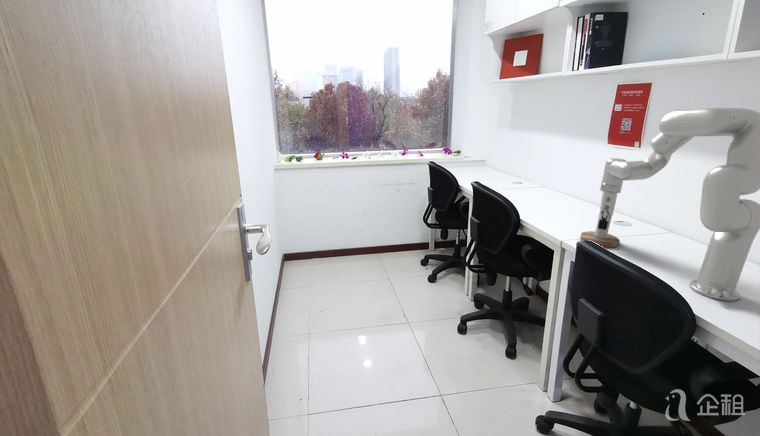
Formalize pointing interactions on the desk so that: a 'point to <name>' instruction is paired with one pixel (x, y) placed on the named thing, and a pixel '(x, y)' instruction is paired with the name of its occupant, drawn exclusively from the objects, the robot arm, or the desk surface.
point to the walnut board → (607, 243)
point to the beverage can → (600, 232)
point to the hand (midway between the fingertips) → (602, 225)
